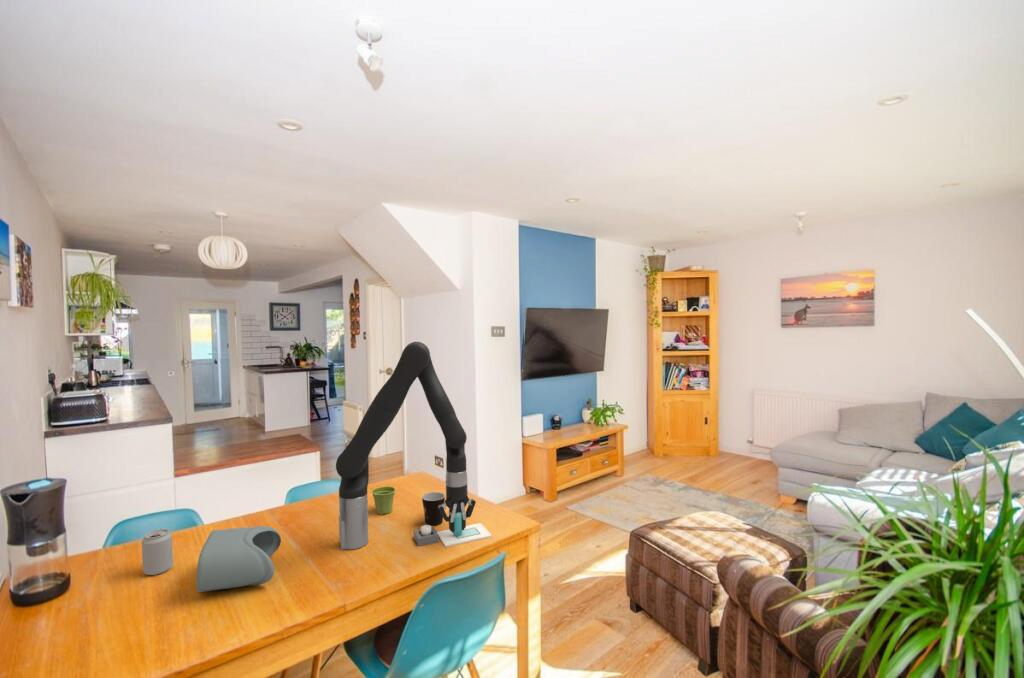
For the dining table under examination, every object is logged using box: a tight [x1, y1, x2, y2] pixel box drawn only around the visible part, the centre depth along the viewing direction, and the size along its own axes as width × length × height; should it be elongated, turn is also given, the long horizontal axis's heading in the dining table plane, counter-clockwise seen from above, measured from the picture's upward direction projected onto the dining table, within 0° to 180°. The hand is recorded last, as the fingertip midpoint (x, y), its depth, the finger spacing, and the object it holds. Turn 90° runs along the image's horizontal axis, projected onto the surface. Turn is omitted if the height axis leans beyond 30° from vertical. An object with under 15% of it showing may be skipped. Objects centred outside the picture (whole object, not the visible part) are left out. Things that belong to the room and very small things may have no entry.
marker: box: [453, 511, 462, 536], centre depth 168 cm, size 3×3×8 cm
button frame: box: [413, 526, 440, 547], centre depth 167 cm, size 7×7×2 cm
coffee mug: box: [421, 491, 446, 527], centre depth 182 cm, size 12×9×10 cm
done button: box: [420, 524, 432, 537], centre depth 166 cm, size 4×4×3 cm
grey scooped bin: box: [196, 525, 282, 593], centre depth 144 cm, size 22×19×13 cm
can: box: [141, 528, 174, 576], centre depth 147 cm, size 8×8×12 cm
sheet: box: [436, 522, 493, 548], centre depth 170 cm, size 17×11×1 cm, turn 115°
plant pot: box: [371, 485, 397, 515], centre depth 191 cm, size 9×9×9 cm
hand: (457, 530), depth 169 cm, fingers closed on marker, 3 cm apart
